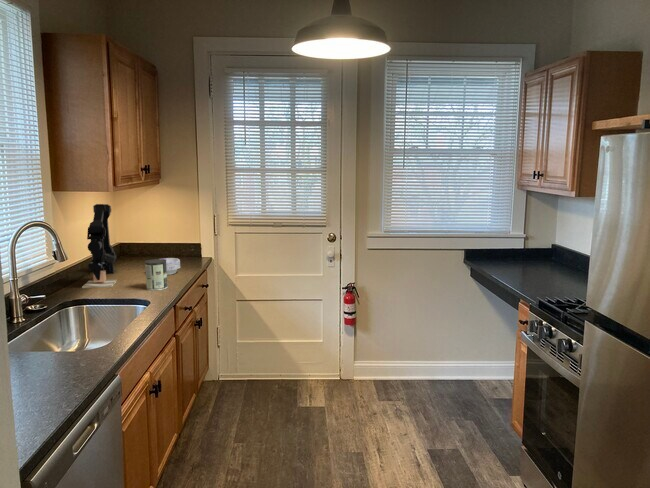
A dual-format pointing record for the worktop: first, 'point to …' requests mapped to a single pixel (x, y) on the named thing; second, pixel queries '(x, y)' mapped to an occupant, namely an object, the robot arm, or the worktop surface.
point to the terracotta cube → (102, 276)
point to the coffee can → (156, 274)
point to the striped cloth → (99, 284)
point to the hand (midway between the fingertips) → (99, 278)
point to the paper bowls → (172, 265)
